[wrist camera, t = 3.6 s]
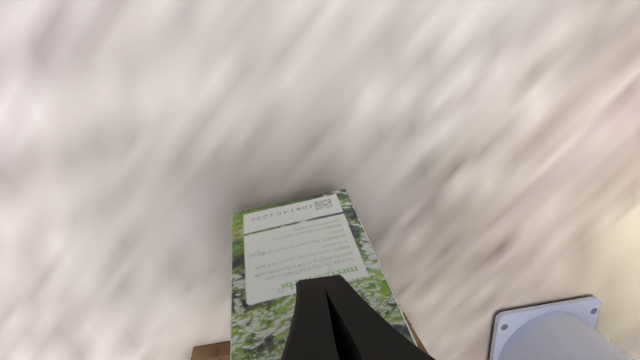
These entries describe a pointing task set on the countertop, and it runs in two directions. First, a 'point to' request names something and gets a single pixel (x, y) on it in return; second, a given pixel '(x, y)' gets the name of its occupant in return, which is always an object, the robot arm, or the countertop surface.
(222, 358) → the rest
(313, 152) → the countertop surface
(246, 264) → the syrup box
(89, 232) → the countertop surface
